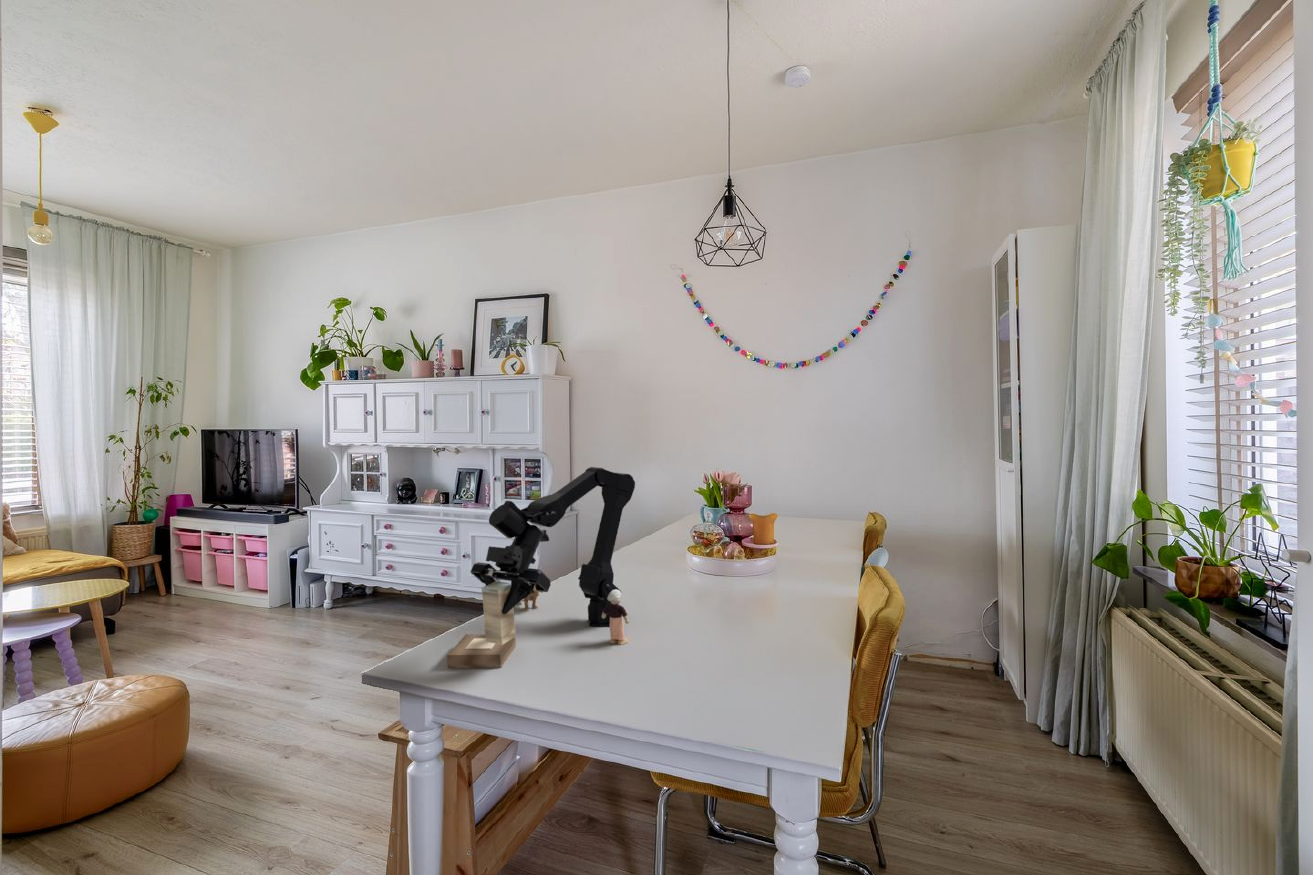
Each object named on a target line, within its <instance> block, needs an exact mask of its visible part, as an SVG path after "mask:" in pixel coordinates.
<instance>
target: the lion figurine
mask: <svg viewBox="0 0 1313 875" xmlns="http://www.w3.org/2000/svg"><path fill="white" fill-rule="evenodd" d="M533 590H534V593H533V594H529V595H528V596H527V597H525V598H524V599H523V600H521V601H520V602H519V603H518V604H517V605H518V606H521V605H523V603H524V612H529V611H530V607H529V601H530V602H531V607H532V608H533V609H534V610H536V609H538V608H539V606H537V605H536V602H537V598H538V597H539V596H540V593H541V594H543V593H544V592H541V591H537V590H536V588H535V586H534V588H533ZM522 601H523V602H522Z"/></svg>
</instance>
